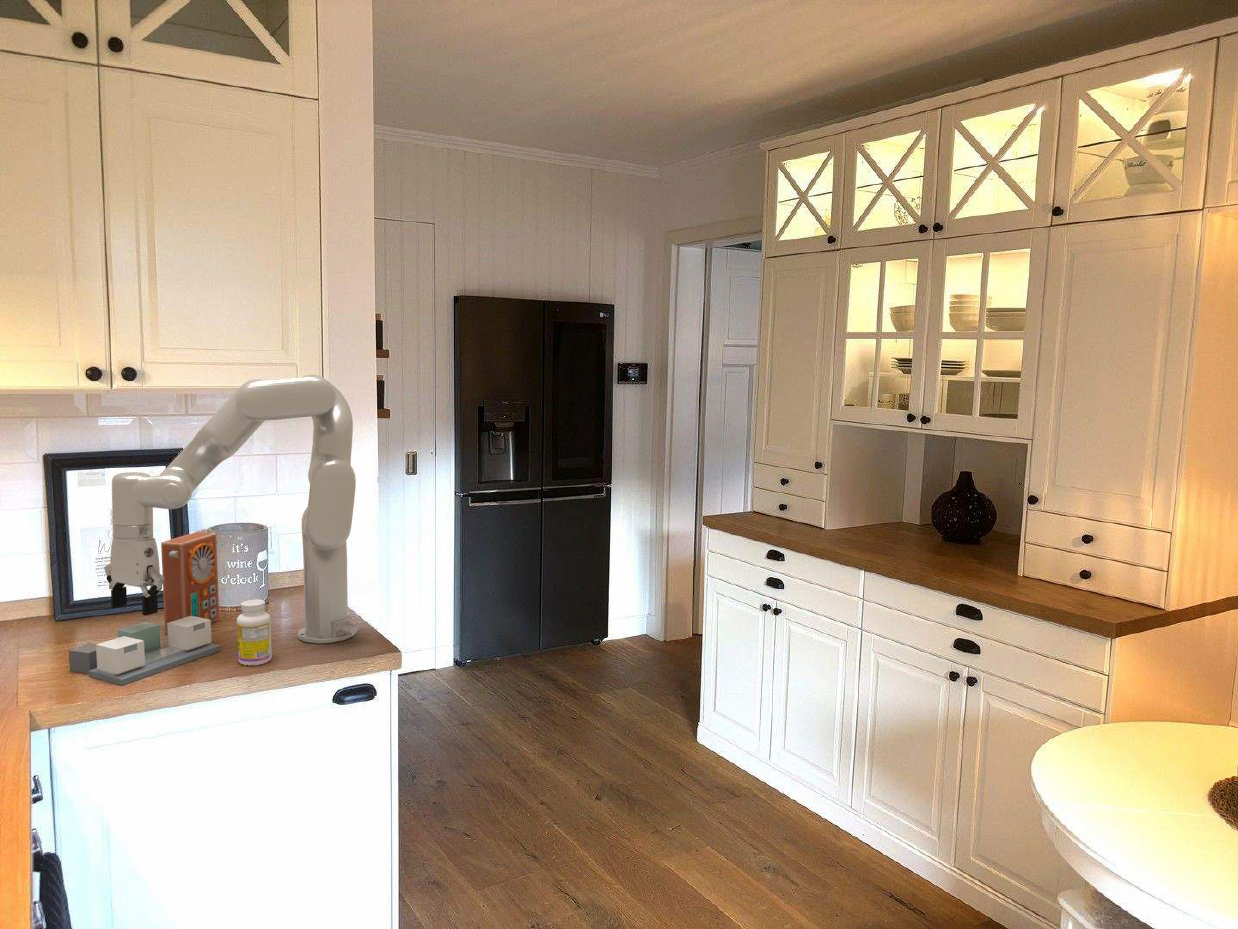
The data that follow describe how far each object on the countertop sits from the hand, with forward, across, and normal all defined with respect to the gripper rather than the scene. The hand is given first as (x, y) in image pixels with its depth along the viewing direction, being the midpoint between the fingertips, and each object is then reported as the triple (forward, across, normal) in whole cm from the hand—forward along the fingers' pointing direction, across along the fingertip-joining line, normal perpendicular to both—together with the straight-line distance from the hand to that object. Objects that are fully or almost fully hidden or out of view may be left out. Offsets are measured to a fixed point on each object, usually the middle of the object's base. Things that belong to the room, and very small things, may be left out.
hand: (134, 610), depth 190 cm
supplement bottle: (+9, -25, -9) cm, 28 cm away
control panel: (+10, +6, -19) cm, 22 cm away
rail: (+8, -9, +1) cm, 12 cm away
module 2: (+10, -1, -1) cm, 10 cm away
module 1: (+10, 0, +10) cm, 14 cm away
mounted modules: (+8, -9, +1) cm, 12 cm away
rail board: (+10, -9, +1) cm, 13 cm away
